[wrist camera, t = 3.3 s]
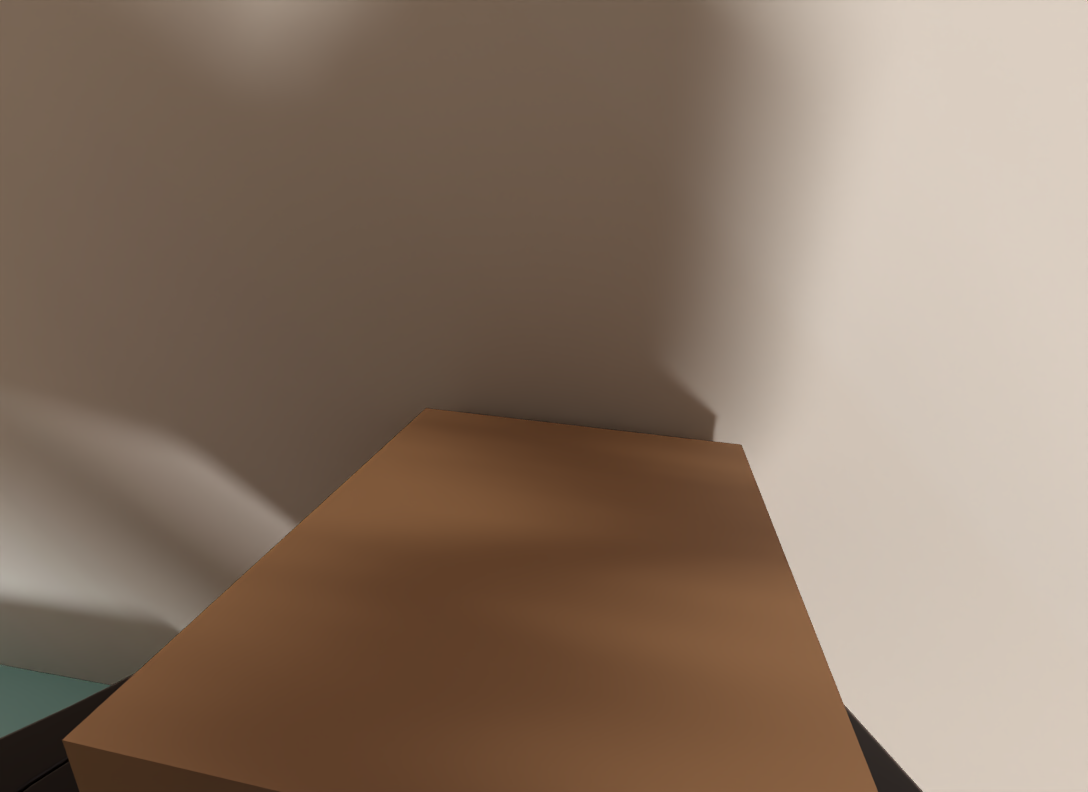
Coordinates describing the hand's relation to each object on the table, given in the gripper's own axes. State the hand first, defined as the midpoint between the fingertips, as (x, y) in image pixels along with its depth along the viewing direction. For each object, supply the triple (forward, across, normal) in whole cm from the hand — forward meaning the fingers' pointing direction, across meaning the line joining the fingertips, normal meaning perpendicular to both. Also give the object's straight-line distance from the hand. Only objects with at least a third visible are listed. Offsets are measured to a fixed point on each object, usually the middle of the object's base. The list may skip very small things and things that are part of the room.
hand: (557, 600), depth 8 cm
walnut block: (+1, 0, 0) cm, 1 cm away
